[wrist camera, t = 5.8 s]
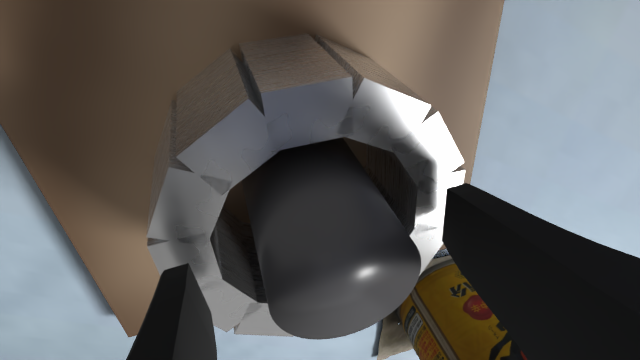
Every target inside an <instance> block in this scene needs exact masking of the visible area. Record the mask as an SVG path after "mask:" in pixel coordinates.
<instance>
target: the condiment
mask: <svg viewBox="0 0 640 360" xmlns="http://www.w3.org/2000/svg"><path fill="white" fill-rule="evenodd" d="M398 323H400V324H399V325H398ZM413 348H414V350H415V352H416V354H417V355H418V357H419V359H420V360H527V358H526V357H525V355H524V354H523V352H522V351H521V349H520V348H519V346H518V345H517V344H516V342H515V341H514V340H513V338H512V337H511V335H510V334H509V333H508V332H507V330H506V329H505V328H504V327H503V325H502V324H501V323H500V321H499V320H498V319H497V318H496V316H495V315H494V314H493V313H492V311H491V310H490V309H489V308H488V306H487V305H486V304H485V302H484V301H483V300H482V299H481V297H480V296H479V295H478V294H477V292H476V291H475V290H474V288H473V287H472V286H471V285H470V283H469V282H468V281H467V279H466V278H465V277H464V276H463V274H462V273H461V272H460V270H459V269H458V267H457V265H456V264H455V262H454V261H453V259H452V257H451V256H450V255H449V256H444V257H440V258H435V259H432V260H431V261H430V262H429V264H428V265H427V266H426V268H425V269H424V271H423V272H422V273H421V275H420V276H419V278H418V280H417V283H416V285H415V287H414V288H413V290H412V292H411V293H410V294H409V296H408V297H407V298H406V299H405V300H404V302H403V303H402V304H401V305H400V306H399V307H398V308H396V309H395V310H394V311H393V312H392V313H390V314H389V315H388V316H386V317H385V318H383V327H382V331H381V337H380V341H379V352H378V357H377V360H382V359H386V358H388V357H389V356H391V355H395V354H398V353H401V352H405V351H408V350H411V349H413Z"/></svg>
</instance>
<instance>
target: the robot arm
mask: <svg viewBox="0 0 640 360" xmlns="http://www.w3.org/2000/svg"><path fill="white" fill-rule="evenodd" d="M442 242H443V243H444V245H445V247H446V249H447V250H448V252H449V254H450V256H451V257H452V259H453V261H454V262H455V264H456V265H457V267H458V269H459V270H460V272H461V273H462V274H463V276H464V277H465V278H466V279H467V281H468V282H469V283H470V285H471V286H472V287H473V288H474V290H475V291H476V292H477V294H478V295H479V296H480V297H481V299H482V300H483V301H484V302H485V304H486V305H487V306H488V308H489V309H490V310H491V311H492V313H493V314H494V315H495V316H496V318H497V319H498V320H499V321H500V323H501V324H502V325H503V327H504V328H505V329H506V330H507V332H508V333H509V334H510V335H511V337H512V338H513V340H514V341H515V342H516V344H517V345H518V346H519V348H520V349H521V351H522V352H523V354H524V355H525V357H526V358H527V360H640V258H638V257H635V256H632V255H629V254H626V253H624V252H621V251H618V250H615V249H612V248H609V247H607V246H604V245H602V244H599V243H596V242H594V241H591V240H589V239H586V238H584V237H582V236H579V235H577V234H575V233H572V232H570V231H567V230H565V229H563V228H560V227H558V226H556V225H554V224H552V223H549V222H547V221H545V220H543V219H541V218H538V217H536V216H534V215H532V214H530V213H528V212H526V211H524V210H522V209H520V208H518V207H516V206H513V205H511V204H509V203H507V202H505V201H503V200H501V199H499V198H497V197H495V196H493V195H491V194H489V193H487V192H485V191H483V190H481V189H479V188H477V187H474V186H472V185H470V184H468V183H464V184H461V185H457V186H454V187H450V188H447V192H446V202H445V213H444V224H443V234H442ZM126 360H217V349H216V342H215V334H214V327H213V321H212V314H211V311H210V309H209V306H208V304H207V302H206V300H205V298H204V295H203V293H202V291H201V289H200V287H199V285H198V282H197V280H196V278H195V276H194V274H193V271H192V269H191V267H190V265H189V263H187V264H183V265H180V266H176V267H173V268H169V269H166V270H164V271H163V272H162V274H161V276H160V279H159V282H158V284H157V287H156V290H155V293H154V295H153V298H152V300H151V303H150V306H149V308H148V311H147V313H146V315H145V318H144V320H143V323H142V325H141V327H140V330H139V332H138V334H137V337H136V339H135V341H134V343H133V346H132V348H131V350H130V352H129V355H128V357H127V359H126Z"/></svg>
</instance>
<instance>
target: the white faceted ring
mask: <svg viewBox="0 0 640 360" xmlns="http://www.w3.org/2000/svg"><path fill="white" fill-rule="evenodd" d="M239 46H240V51H241V56H242V61H241V60H240V59H239V58H238V57H237V55H236V54H235V53H234V52H233V51H232V50H231V48H229V49H228V50H226V51H225V52H224V53H223V54H222V55H220V56H219V57H218V58H217V59H216V60H214V61H213V62H212V63H211V64H210V65H208V66H207V67H206V68H205V69H204V70H202V71H201V72H200V73H199V74H198V75H196V76H195V77H194V78H193V79H191V80H190V81H189V82H188V83H187V84H185V85H184V86H183V87H182V88H181V89H179V90H178V91H177V101H175V100H171V103H170V107H169V110H168V113H167V117H166V120H165V123H164V127H163V130H162V133H161V137H160V140H159V143H158V147H157V150H156V154H155V157H154V167H153V177H152V187H151V196H150V206H149V216H148V226H147V236H146V237H148V240H147V248H148V250H149V252H150V254H151V257H152V259H153V261H154V263H155V265H156V268H157V270H158V272H159V274H160V276H161V274H162V272H163V271H164V270H166V269H169V268H173V267H176V266H180V265H183V264H187V263H189V265H190V267H191V269H192V271H193V274H194V276H195V278H196V280H197V282H198V285H199V287H200V289H201V291H202V293H203V295H204V298H205V300H206V302H207V304H208V306H209V309H210V311H211V314H212V321H213V325H214V326H216V327H218V328H220V329H222V330H223V331H225V332H227V331H229V330H230V329H232V328H233V327H234V334H243V335H267V336H291V337H293V336H294V335H291V334H289V333H287V332H285V331H284V330H282V329H281V328H280V327H279V326H277V325H276V323H275V322H274V321H273V319H272V317H271V315H270V312H269V308H268V303H267V298H266V294H265V289H264V284H263V280H262V275H261V270H260V265H259V261H258V256H257V251H256V247H255V242H254V237H253V233H252V228H251V223H245V222H242V221H240V220H239V219H238V218H237V217H235V216H234V215H233V214H232V213H230V212H229V211H228V210H227V209H225V208H224V207H223V205H224V202H225V200H226V197H227V195H228V192H229V190H230V189H231V188H232V187H234V186H235V185H236V184H237V183H239V182H240V181H241V180H243V179H244V178H245V177H247V176H248V175H249V174H250V173H252V172H253V171H254V170H256V169H257V168H258V167H259V166H261V165H262V164H263V163H265V162H266V161H267V160H269V159H270V158H271V157H272V156H274V155H275V154H276V153H278V152H279V151H280V150H283V149H288V148H293V147H298V146H302V145H307V144H312V143H317V142H322V141H326V140H331V139H336V138H341V137H347V138H350V139H353V140H356V141H359V142H362V143H365V144H367V164H366V166H365V168H364V169H365V171H366V172H367V174H368V175H369V177H370V178H371V180H372V181H373V183H374V184H375V186H376V187H377V189H378V190H379V191H380V193H381V194H382V196H383V197H384V199H385V200H386V202H387V203H388V205H389V206H390V208H391V209H392V211H393V212H394V214H395V215H396V217H397V218H398V219H399V221H400V222H401V224H402V225H403V227H404V228H405V230H406V231H407V233H408V234H409V236H410V237H411V239H412V240H413V242H414V243H415V245H416V246H417V248H418V250H419V252H420V256H421V271H420V275H421V273H422V272H423V271H424V269H425V268H426V266H427V265H428V264H429V262H430V261H431V260H432V258H433V257H434V256H435V254H436V253H437V251H438V250H439V249H440V247H441V246H442V245H443V242H442V234H443V224H444V213H445V202H446V192H447V188H450V187H454V186H457V185H461V184H463V180H464V174H465V169H464V168H462V167H461V166H460V165H461V164H463V163H464V161H463V159H462V157H461V155H460V153H459V151H458V149H457V147H456V145H455V143H454V141H453V139H452V137H451V136H450V134H449V132H448V130H447V128H446V126H445V124H444V122H443V120H442V118H441V116H440V114H439V112H438V111H437V110H435V109H434V108H433V107H432V106H431V105H430V104H429V103H427V102H426V101H425V100H424V99H422V98H421V97H420V96H419V95H417V94H416V93H415V92H413V91H412V90H411V89H410V88H408V87H407V86H406V85H404V84H403V83H402V82H401V81H399V80H398V79H397V78H395V77H394V76H393V75H392V74H390V73H389V72H388V71H386V70H385V69H384V68H383V67H381V66H380V65H379V64H377V63H376V62H375V61H374V60H372V59H371V58H369V57H366V56H364V55H362V54H360V53H357V52H355V51H353V50H351V49H348V48H346V47H344V46H342V45H339V44H337V43H335V42H333V41H330V40H328V39H326V38H324V37H321V36H319V35H317V34H316V37H315V39H313V38H312V37H311V36H310V35H309V34H308V33H305V34H298V35H292V36H285V37H279V38H272V39H265V40H259V41H252V42H246V43H239ZM242 62H243V63H242ZM420 275H419V276H420Z"/></svg>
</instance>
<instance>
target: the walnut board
mask: <svg viewBox="0 0 640 360" xmlns="http://www.w3.org/2000/svg"><path fill="white" fill-rule="evenodd" d="M503 5H504V0H0V124H1V126H2V127H3V129H4V131H5V132H6V134H7V136H8V137H9V139H10V141H11V142H12V144H13V146H14V147H15V149H16V151H17V152H18V154H19V156H20V157H21V159H22V160H23V162H24V164H25V165H26V167H27V169H28V170H29V172H30V174H31V175H32V177H33V179H34V180H35V182H36V184H37V185H38V187H39V189H40V190H41V192H42V194H43V195H44V197H45V199H46V200H47V202H48V204H49V205H50V207H51V209H52V210H53V212H54V214H55V215H56V217H57V219H58V220H59V222H60V224H61V225H62V227H63V229H64V230H65V232H66V234H67V235H68V237H69V239H70V240H71V242H72V244H73V245H74V247H75V249H76V250H77V252H78V254H79V255H80V257H81V259H82V260H83V262H84V264H85V265H86V267H87V269H88V270H89V272H90V274H91V275H92V277H93V279H94V280H95V282H96V284H97V285H98V287H99V289H100V290H101V292H102V294H103V295H104V297H105V299H106V300H107V302H108V304H109V305H110V307H111V309H112V310H113V312H114V314H115V315H116V317H117V319H118V320H119V322H120V324H121V325H122V327H123V329H124V330H125V332H126V334H127V335H128V337H132V336H135V335H137V334H138V332H139V330H140V327H141V325H142V323H143V320H144V318H145V315H146V313H147V311H148V308H149V306H150V303H151V300H152V298H153V295H154V293H155V290H156V287H157V284H158V282H159V279H160V274H159V272H158V270H157V268H156V265H155V263H154V261H153V259H152V257H151V254H150V252H149V250H148V248H147V240H148V237H146V236H147V226H148V216H149V206H150V196H151V187H152V177H153V167H154V157H155V154H156V150H157V147H158V143H159V140H160V137H161V133H162V130H163V127H164V123H165V120H166V117H167V113H168V110H169V107H170V103H171V100H175V101H177V91H178V90H179V89H181V88H182V87H183V86H184V85H185V84H187V83H188V82H189V81H190V80H191V79H193V78H194V77H195V76H196V75H198V74H199V73H200V72H201V71H202V70H204V69H205V68H206V67H207V66H208V65H210V64H211V63H212V62H213V61H214V60H216V59H217V58H218V57H219V56H220V55H222V54H223V53H224V52H225V51H226V50H228V49H229V48H231V50H232V51H233V52H234V53H235V54H236V55H237V57H238V58H239V59H240V60H241V61H242V56H241V51H240V46H239V43H246V42H252V41H259V40H265V39H272V38H279V37H285V36H292V35H298V34H305V33H308V34H309V35H310V36H311V37H312V38H313V39H315V37H316V34H317V35H319V36H321V37H324V38H326V39H328V40H330V41H333V42H335V43H337V44H339V45H342V46H344V47H346V48H348V49H351V50H353V51H355V52H357V53H360V54H362V55H364V56H366V57H369V58H371V59H372V60H374V61H375V62H376V63H377V64H379V65H380V66H381V67H383V68H384V69H385V70H386V71H388V72H389V73H390V74H392V75H393V76H394V77H395V78H397V79H398V80H399V81H401V82H402V83H403V84H404V85H406V86H407V87H408V88H410V89H411V90H412V91H413V92H415V93H416V94H417V95H419V96H420V97H421V98H422V99H424V100H425V101H426V102H427V103H429V104H430V105H431V106H432V107H433V108H434V109H435V110H437V111H438V112H439V114H440V116H441V118H442V120H443V122H444V124H445V126H446V128H447V130H448V132H449V134H450V136H451V137H452V139H453V141H454V143H455V145H456V147H457V149H458V151H459V153H460V155H461V157H462V159H463V161H464V163H463V164H461V165H460V166H461V167H462V168H464V169H465V174H464V180H463V184H464V183H468V184H470V181H471V176H472V171H473V165H474V160H475V154H476V149H477V144H478V138H479V133H480V128H481V122H482V117H483V112H484V106H485V101H486V96H487V90H488V85H489V80H490V74H491V69H492V64H493V58H494V53H495V48H496V42H497V37H498V31H499V26H500V21H501V15H502V10H503ZM242 63H243V62H242ZM343 138H344V140H345V141H346V143H347V144H348V146H349V147H350V149H351V150H352V152H353V153H354V155H355V156H356V158H357V159H358V161H359V162H360V163H361V165H362V166H363V168H365V166H366V164H367V144H365V143H362V142H359V141H356V140H353V139H350V138H347V137H343ZM223 207H224V208H225V209H227V210H228V211H229V212H230V213H232V214H233V215H234V216H235V217H237V218H238V219H239V220H240V221H242V222H245V223H250V219H249V214H248V209H247V204H246V200H245V195H244V190H243V186H242V181H240V182H239V183H237V184H236V185H235V186H234V187H232V188H231V189H230V190H229V192H228V195H227V197H226V200H225V202H224V205H223ZM443 249H446V247H445V245H444V243H443V245H442V246H441V247H440V249H439V250H443ZM439 250H438V251H439Z"/></svg>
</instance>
